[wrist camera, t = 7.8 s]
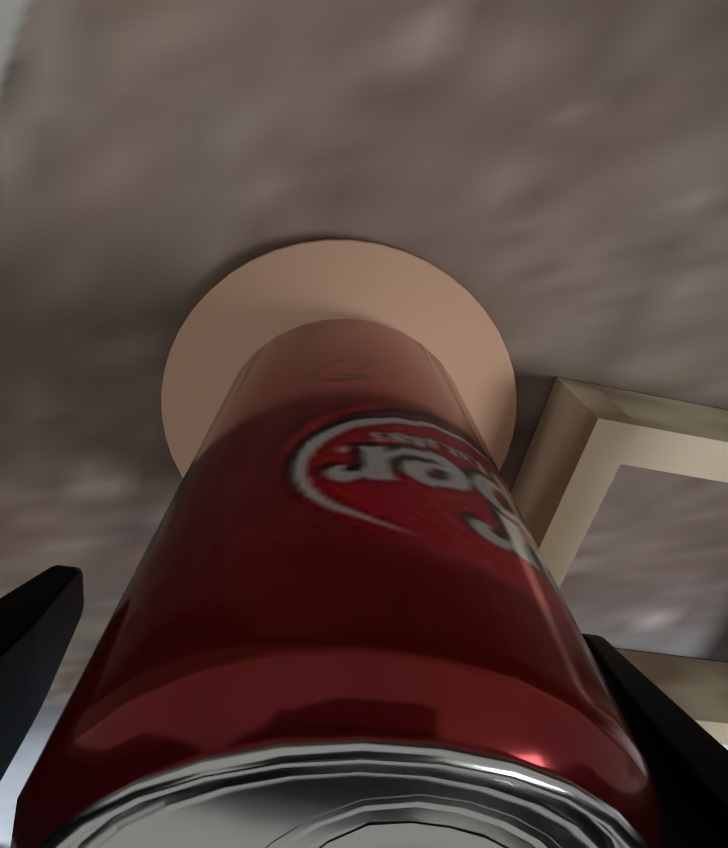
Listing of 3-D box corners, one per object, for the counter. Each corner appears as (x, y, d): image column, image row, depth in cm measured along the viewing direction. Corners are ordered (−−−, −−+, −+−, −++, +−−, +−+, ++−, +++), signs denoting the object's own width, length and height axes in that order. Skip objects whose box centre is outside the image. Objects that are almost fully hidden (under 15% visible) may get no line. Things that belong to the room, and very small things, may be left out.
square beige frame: (935, 450, 18) (1038, 500, 15) (748, 685, 23) (800, 752, 21) (556, 377, 16) (598, 418, 14) (448, 648, 22) (462, 716, 19)
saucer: (563, 282, 15) (571, 287, 14) (455, 569, 20) (459, 581, 19) (175, 197, 14) (168, 199, 13) (160, 527, 18) (155, 538, 18)
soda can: (390, 262, 14) (540, 583, 3) (496, 460, 17) (760, 973, 6) (177, 390, 15) (-207, 904, 5) (309, 552, 18) (260, 1096, 8)
